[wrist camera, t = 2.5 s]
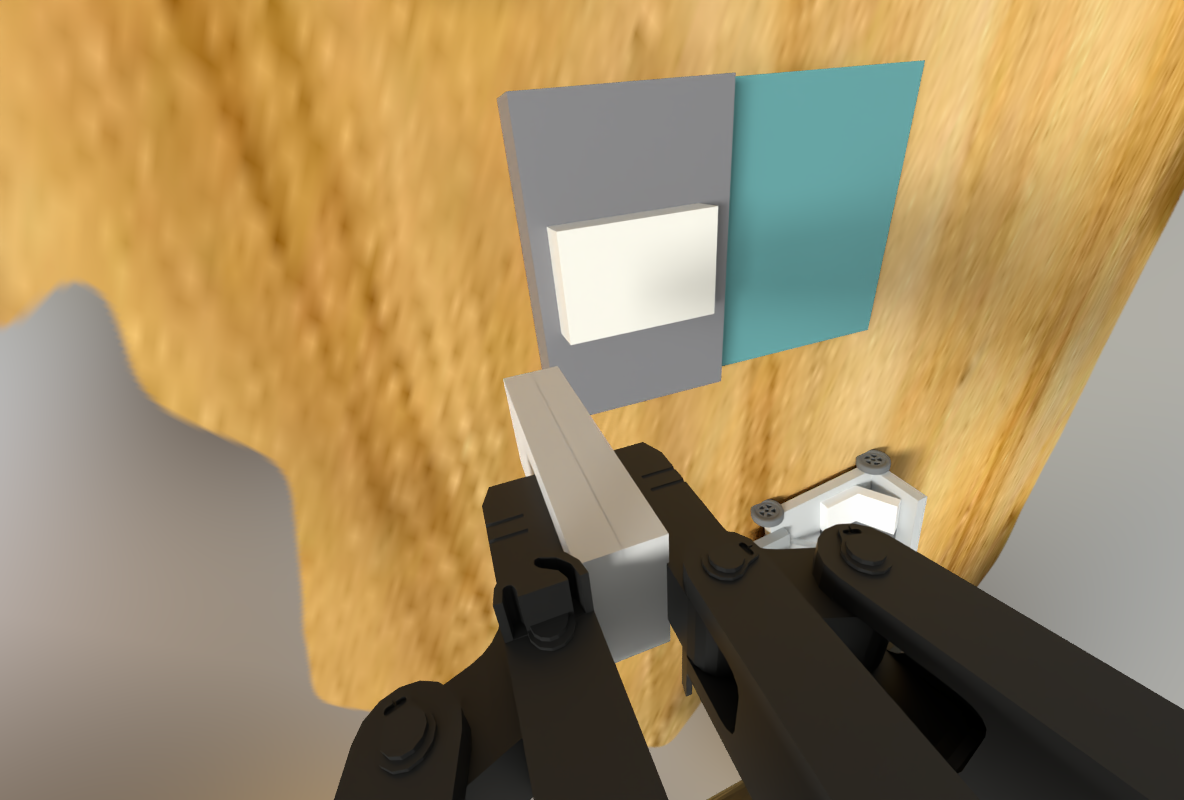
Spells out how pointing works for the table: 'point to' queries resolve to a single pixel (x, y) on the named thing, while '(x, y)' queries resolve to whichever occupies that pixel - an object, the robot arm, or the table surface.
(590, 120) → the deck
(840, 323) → the mat
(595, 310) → the tile
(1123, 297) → the table surface
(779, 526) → the toy car
